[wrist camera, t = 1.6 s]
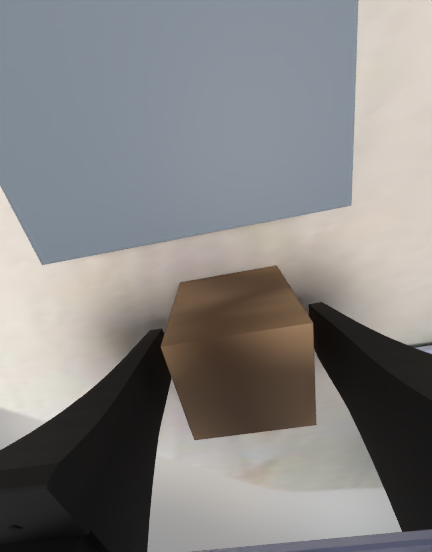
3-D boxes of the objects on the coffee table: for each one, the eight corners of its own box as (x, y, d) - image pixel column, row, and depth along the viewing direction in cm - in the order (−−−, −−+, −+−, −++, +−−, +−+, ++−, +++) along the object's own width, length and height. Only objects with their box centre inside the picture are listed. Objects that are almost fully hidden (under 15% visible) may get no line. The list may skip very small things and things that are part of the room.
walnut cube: (276, 264, 12) (312, 322, 8) (283, 342, 14) (316, 424, 10) (180, 281, 12) (160, 346, 8) (201, 354, 15) (194, 440, 10)
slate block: (299, -211, 7) (377, -560, 3) (312, 195, 11) (351, 205, 8) (-52, -95, 8) (-249, -289, 4) (88, 239, 12) (42, 265, 9)
